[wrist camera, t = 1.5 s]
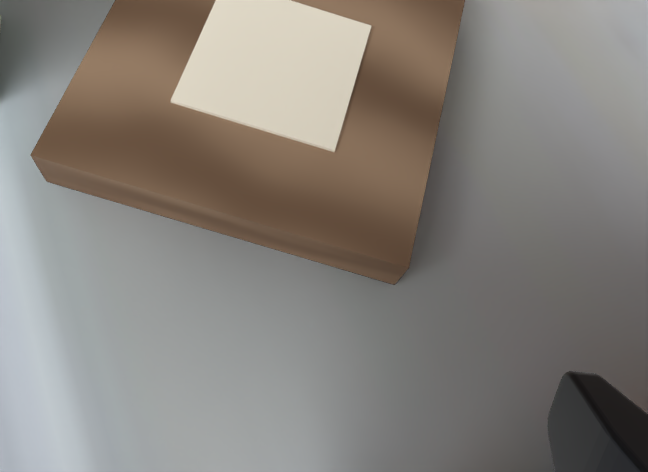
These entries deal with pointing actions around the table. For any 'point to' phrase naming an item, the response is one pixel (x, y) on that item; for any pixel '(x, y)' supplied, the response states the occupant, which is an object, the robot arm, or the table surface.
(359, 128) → the base board
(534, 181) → the table surface
